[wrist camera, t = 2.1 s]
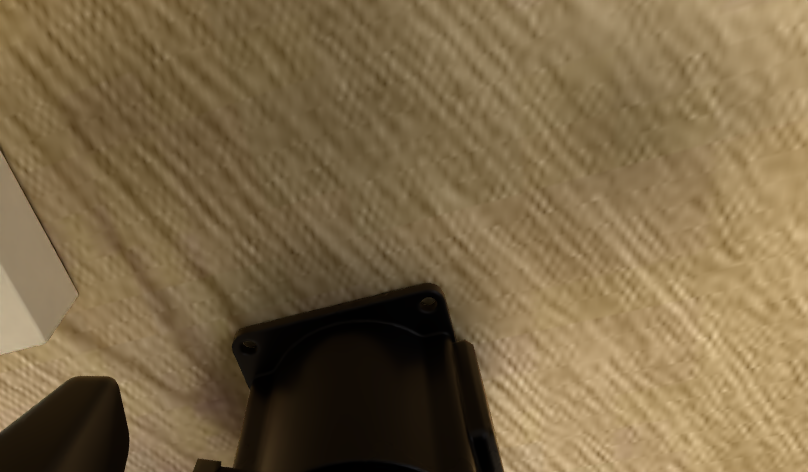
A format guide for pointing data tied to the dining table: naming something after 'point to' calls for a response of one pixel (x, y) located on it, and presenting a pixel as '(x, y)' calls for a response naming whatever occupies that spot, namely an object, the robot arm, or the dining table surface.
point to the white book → (27, 273)
